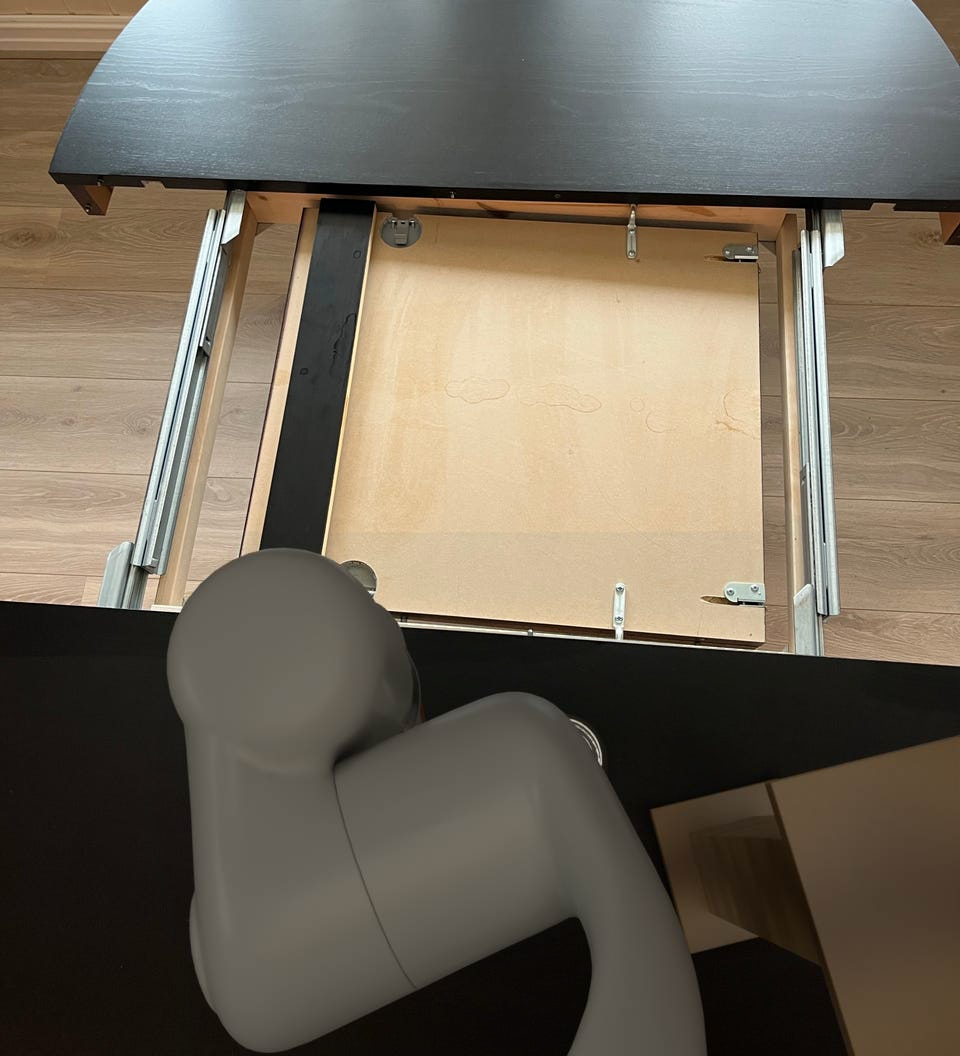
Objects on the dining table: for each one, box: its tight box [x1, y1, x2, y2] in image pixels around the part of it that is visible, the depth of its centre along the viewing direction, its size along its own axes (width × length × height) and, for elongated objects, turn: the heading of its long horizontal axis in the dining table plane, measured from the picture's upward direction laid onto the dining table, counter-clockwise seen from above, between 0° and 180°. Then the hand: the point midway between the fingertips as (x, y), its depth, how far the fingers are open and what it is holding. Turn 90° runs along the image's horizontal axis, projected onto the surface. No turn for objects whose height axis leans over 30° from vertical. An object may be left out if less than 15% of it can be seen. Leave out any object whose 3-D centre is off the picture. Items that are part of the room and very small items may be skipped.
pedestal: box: [649, 734, 960, 1056], centre depth 52 cm, size 10×10×41 cm
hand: (384, 734), depth 63 cm, fingers closed on block, 5 cm apart
